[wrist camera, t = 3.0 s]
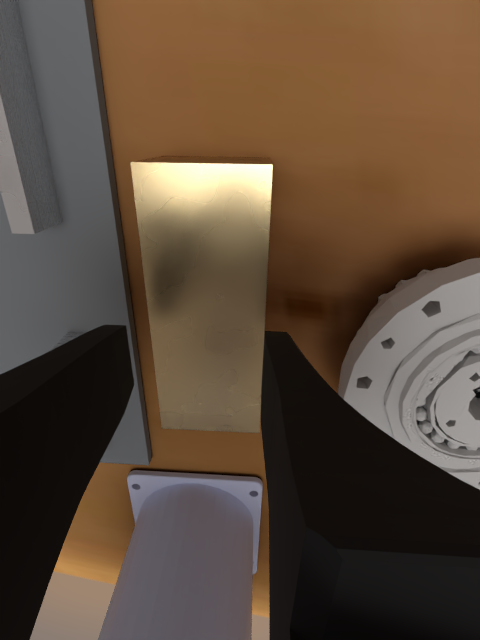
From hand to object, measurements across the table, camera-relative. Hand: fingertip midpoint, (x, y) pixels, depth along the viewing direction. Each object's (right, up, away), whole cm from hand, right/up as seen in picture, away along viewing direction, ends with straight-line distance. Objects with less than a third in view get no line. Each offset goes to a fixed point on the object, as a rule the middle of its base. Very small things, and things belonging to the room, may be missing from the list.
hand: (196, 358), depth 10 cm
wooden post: (0, +3, +6) cm, 6 cm away
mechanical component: (+14, +2, +2) cm, 15 cm away
